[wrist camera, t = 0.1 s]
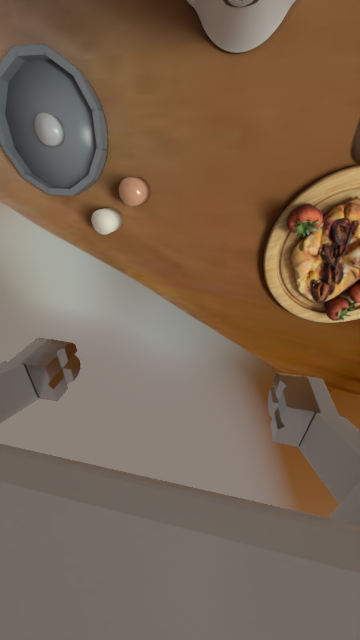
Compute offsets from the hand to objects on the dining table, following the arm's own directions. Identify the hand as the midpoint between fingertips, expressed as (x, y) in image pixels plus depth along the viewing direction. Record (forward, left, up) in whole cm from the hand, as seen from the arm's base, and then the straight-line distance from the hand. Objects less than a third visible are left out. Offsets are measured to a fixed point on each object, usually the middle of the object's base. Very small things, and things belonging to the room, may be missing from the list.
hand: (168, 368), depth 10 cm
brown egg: (-4, -18, -48) cm, 52 cm away
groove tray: (-14, -35, -48) cm, 61 cm away
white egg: (+2, -25, -48) cm, 54 cm away
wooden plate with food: (+7, +26, -49) cm, 56 cm away
